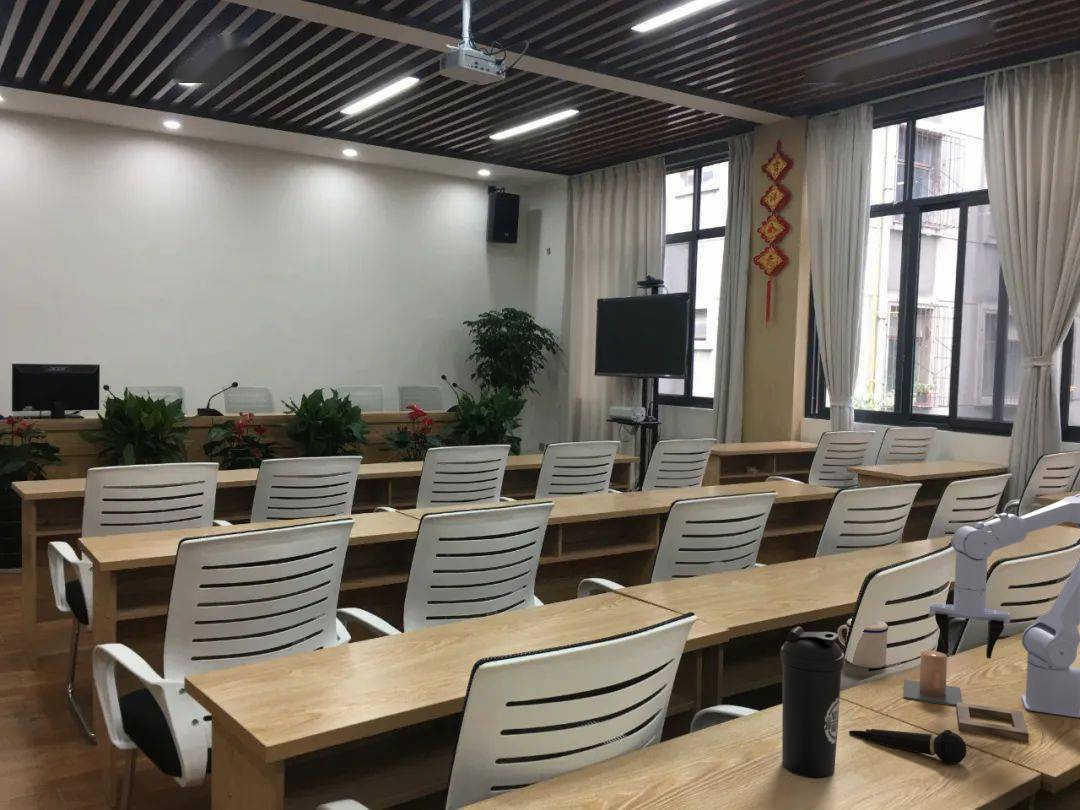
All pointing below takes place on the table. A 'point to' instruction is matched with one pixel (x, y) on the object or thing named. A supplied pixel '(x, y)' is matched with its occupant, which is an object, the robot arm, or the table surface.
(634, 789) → the table surface
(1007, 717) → the walnut holder
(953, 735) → the microphone
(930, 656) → the terracotta jug
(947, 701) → the rubber mat
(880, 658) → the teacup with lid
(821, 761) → the water bottle
